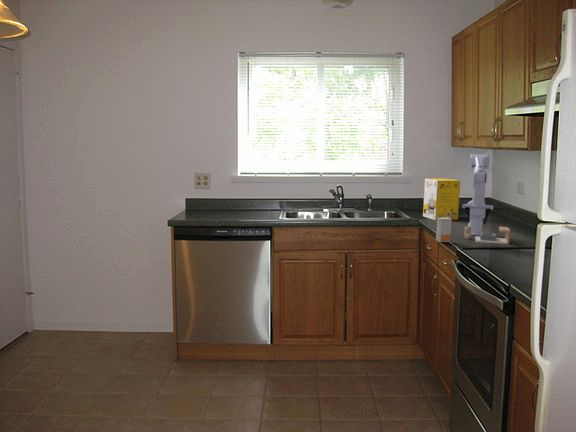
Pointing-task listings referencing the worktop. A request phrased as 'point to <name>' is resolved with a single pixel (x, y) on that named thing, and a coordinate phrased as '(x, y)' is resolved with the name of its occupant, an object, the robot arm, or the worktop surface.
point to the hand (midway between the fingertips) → (476, 223)
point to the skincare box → (443, 229)
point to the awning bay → (494, 237)
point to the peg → (467, 233)
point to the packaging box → (441, 198)
